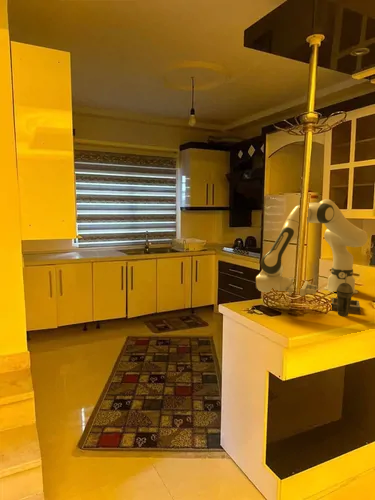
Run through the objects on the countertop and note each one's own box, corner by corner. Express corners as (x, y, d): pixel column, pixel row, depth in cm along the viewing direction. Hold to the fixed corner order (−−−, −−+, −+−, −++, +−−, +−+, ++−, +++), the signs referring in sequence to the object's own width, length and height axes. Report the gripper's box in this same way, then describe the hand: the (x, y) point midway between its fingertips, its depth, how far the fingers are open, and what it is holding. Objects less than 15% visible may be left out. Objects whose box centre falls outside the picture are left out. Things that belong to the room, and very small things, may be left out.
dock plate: (330, 303, 189) (330, 297, 188) (359, 306, 183) (359, 300, 183) (329, 310, 176) (330, 304, 175) (360, 314, 170) (361, 307, 170)
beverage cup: (333, 315, 167) (337, 274, 165) (335, 311, 174) (338, 271, 171) (350, 318, 164) (354, 276, 161) (351, 314, 170) (355, 273, 168)
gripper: (285, 284, 168) (315, 287, 162) (290, 276, 186) (318, 279, 181) (284, 297, 168) (314, 301, 163) (289, 288, 187) (317, 291, 182)
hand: (316, 289), depth 172 cm, fingers open, 8 cm apart
